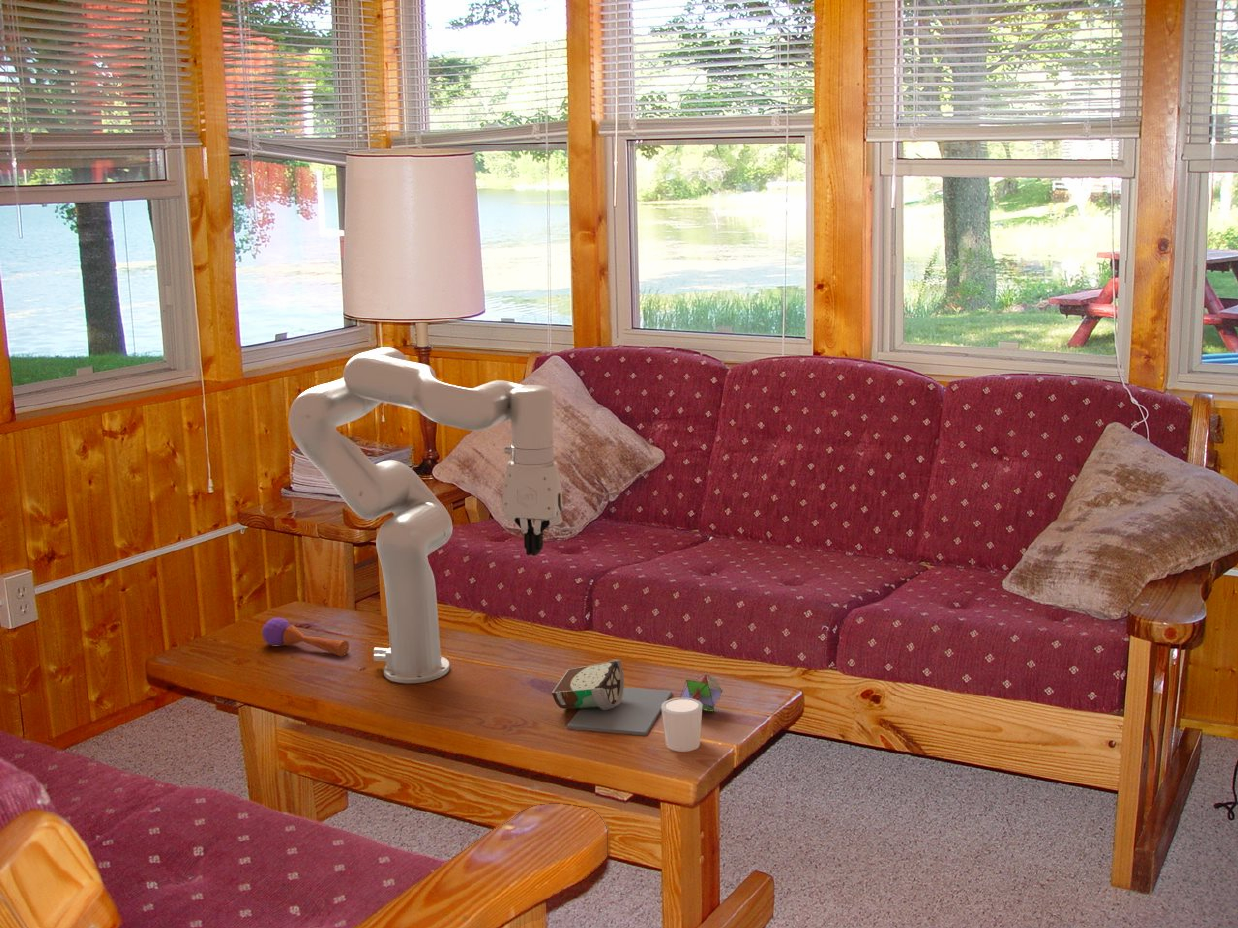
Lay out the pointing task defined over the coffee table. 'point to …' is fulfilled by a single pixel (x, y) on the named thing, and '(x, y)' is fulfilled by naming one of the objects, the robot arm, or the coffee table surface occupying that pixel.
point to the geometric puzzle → (703, 692)
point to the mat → (624, 713)
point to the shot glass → (682, 723)
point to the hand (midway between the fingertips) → (533, 552)
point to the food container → (591, 686)
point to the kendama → (299, 637)
